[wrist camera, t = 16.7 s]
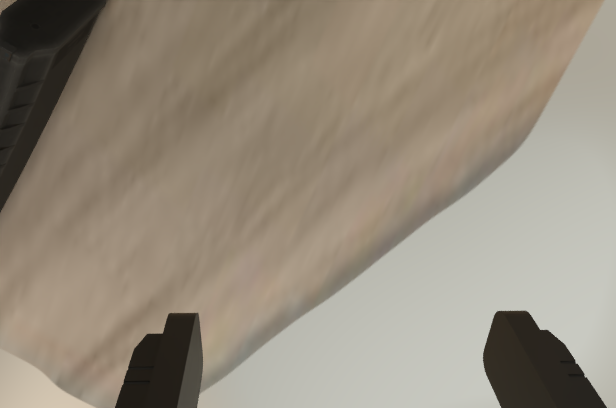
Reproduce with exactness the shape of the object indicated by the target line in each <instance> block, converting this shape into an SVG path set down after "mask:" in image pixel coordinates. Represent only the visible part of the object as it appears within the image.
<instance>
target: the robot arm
mask: <svg viewBox="0 0 616 408" xmlns="http://www.w3.org/2000/svg"><path fill="white" fill-rule="evenodd" d="M483 362H484V368H485V372H486V375H487V377H488V379H489V381H490V384H491V386H492V388H493V390H494V392H495V394H496V396H497V399H498V401H499V403H500V406H501V408H607V407H606V406H605V404H604V403H603V401H602V400H601V398H600V397H599V395H598V394H597V392H596V391H595V389H594V388H593V386H592V385H591V383H590V382H589V380H588V379H587V378H585V376H584V373H583V371H582V370H581V368H580V367H579V365H578V364H576V363H575V359H574V358H573V356H572V355H571V353H570V352H569V350H568V349H567V347H566V346H565V344H564V343H562V342H561V341H560V340H558V338H557V337H555V336H554V335H553V334H552V333H551V332H549V331H548V330H540V329H539V327H538V326H537V324H536V323H535V321H534V320H533V318H532V317H531V315H530V314H529V313H528V312H527V311H498V312H496V314H495V315H494V318H493V322H492V325H491V329H490V332H489V335H488V338H487V342H486V345H485V349H484V353H483ZM202 370H203V352H202V342H201V332H200V321H199V315H198V313H169V315H168V317H167V321H166V324H165V328H164V332H163V334H147V335H146V336H145V337H144V338H143V340H142V341H141V342H140V343H139V344H138V345H137V346H136V348H135V349H134V351H133V354H132V357H131V360H130V363H129V366H128V370H127V373H126V376H125V379H124V384H123V385H122V388H121V391H120V394H119V397H118V400H117V403H116V406H115V408H197V404H198V398H199V392H200V385H201V379H202Z"/></svg>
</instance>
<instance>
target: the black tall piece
mask: <svg viewBox="0 0 616 408" xmlns="http://www.w3.org/2000/svg"><path fill="white" fill-rule="evenodd" d="M105 4H106V0H17V1H16V2H14V3H13V4H12V5H10V6H9V7H7V8H6V9H5V10H3V11H2V13H1V15H0V212H1V210H2V208H3V206H4V204H5V203H6V201H7V199H8V197H9V195H10V193H11V191H12V189H13V188H14V186H15V184H16V182H17V180H18V178H19V176H20V174H21V172H22V171H23V169H24V167H25V165H26V163H27V161H28V159H29V157H30V155H31V153H32V151H33V149H34V147H35V145H36V143H37V141H38V139H39V137H40V135H41V133H42V131H43V129H44V127H45V125H46V123H47V121H48V119H49V117H50V115H51V113H52V111H53V109H54V107H55V105H56V103H57V101H58V99H59V97H60V95H61V93H62V90H63V88H64V86H65V84H66V82H67V80H68V78H69V76H70V74H71V71H72V69H73V67H74V65H75V63H76V61H77V59H78V57H79V54H80V52H81V50H82V48H83V46H84V44H85V42H86V40H87V37H88V35H89V33H90V31H91V29H92V27H93V25H94V22H95V20H96V18H97V16H98V14H99V12H100V10H101V9H102V8H103V7H104V6H105Z"/></svg>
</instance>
